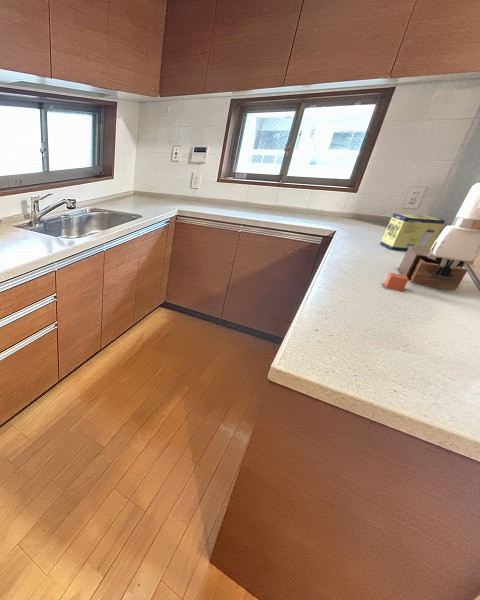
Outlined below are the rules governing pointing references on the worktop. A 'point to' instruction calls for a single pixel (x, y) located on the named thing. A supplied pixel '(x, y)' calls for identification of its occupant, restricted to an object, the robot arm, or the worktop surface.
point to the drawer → (426, 275)
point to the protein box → (411, 231)
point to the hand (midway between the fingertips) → (439, 277)
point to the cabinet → (414, 259)
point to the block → (396, 281)
